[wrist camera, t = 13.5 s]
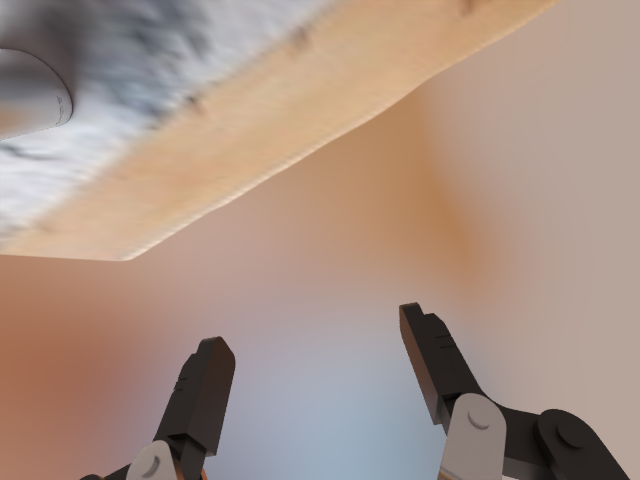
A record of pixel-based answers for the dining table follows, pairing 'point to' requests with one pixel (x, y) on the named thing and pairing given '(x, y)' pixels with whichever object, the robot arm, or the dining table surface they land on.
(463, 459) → the robot arm
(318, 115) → the dining table surface
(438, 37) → the dining table surface
